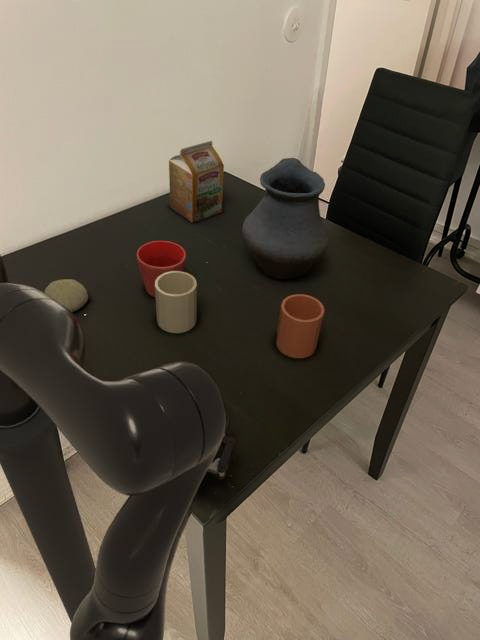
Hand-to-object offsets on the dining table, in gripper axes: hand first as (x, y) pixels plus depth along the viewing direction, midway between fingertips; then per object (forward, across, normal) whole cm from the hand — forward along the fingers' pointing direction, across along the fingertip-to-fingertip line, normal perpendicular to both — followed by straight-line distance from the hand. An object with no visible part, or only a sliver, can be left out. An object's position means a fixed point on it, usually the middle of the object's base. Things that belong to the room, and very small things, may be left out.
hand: (199, 410), depth 82 cm
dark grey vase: (+54, -5, +7) cm, 55 cm away
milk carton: (+75, +23, +7) cm, 79 cm away
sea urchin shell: (+26, +38, +7) cm, 46 cm away
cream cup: (+28, +13, +7) cm, 31 cm away
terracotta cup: (+28, -13, +7) cm, 31 cm away
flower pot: (+37, +20, +7) cm, 43 cm away
